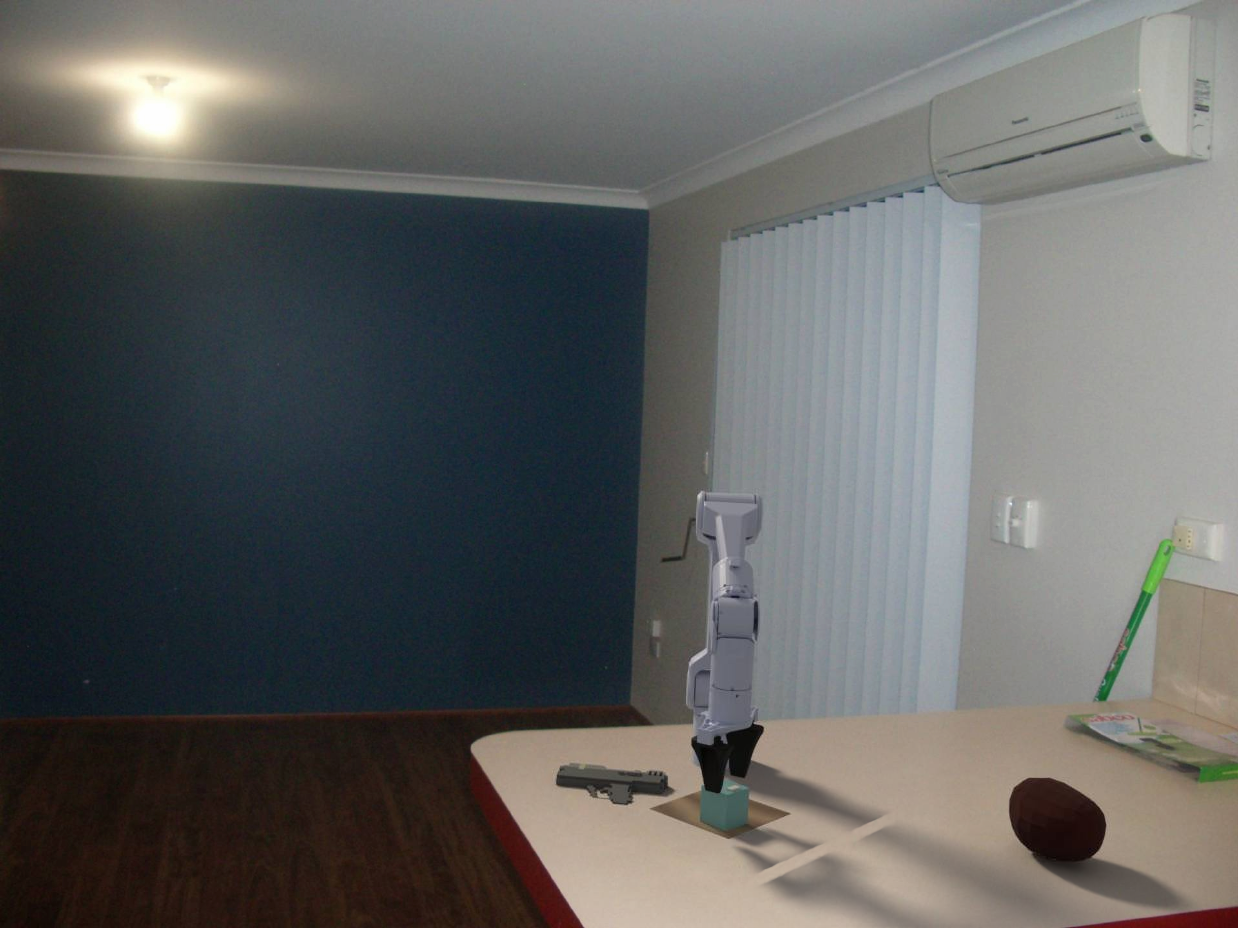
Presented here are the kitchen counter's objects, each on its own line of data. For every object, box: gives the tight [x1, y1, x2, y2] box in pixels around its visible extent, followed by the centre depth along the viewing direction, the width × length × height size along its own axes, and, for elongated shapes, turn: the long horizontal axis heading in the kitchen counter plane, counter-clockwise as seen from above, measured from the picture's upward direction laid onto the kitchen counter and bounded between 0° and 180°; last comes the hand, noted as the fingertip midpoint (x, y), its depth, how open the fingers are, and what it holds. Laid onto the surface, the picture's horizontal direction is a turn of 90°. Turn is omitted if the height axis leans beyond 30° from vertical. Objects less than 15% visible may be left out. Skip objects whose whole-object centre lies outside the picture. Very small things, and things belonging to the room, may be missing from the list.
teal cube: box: [700, 778, 750, 831], centre depth 164 cm, size 5×5×5 cm
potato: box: [1008, 777, 1107, 863], centre depth 159 cm, size 11×13×10 cm
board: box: [649, 790, 792, 840], centre depth 169 cm, size 14×14×4 cm
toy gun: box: [555, 762, 669, 806], centre depth 175 cm, size 4×16×10 cm
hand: (725, 783), depth 164 cm, fingers open, 7 cm apart
